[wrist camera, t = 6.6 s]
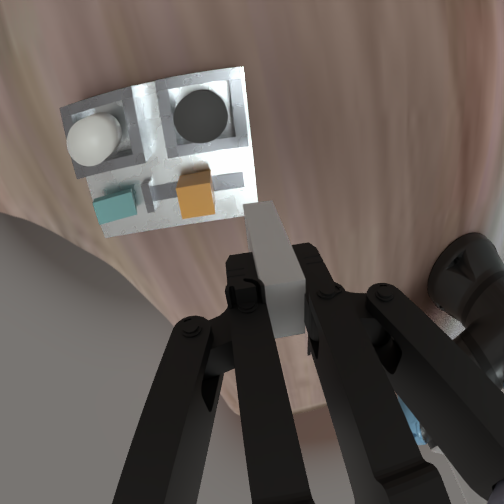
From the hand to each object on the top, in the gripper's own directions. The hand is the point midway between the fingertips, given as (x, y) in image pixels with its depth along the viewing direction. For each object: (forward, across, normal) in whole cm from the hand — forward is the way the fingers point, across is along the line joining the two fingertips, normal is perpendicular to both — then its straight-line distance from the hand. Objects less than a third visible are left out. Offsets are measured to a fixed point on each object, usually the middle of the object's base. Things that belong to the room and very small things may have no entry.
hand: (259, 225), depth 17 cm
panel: (+19, +7, -1) cm, 20 cm away
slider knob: (+15, +4, +3) cm, 16 cm away
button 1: (+12, +12, -5) cm, 17 cm away
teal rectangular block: (+14, +13, +3) cm, 19 cm away
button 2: (+12, +3, -5) cm, 13 cm away
